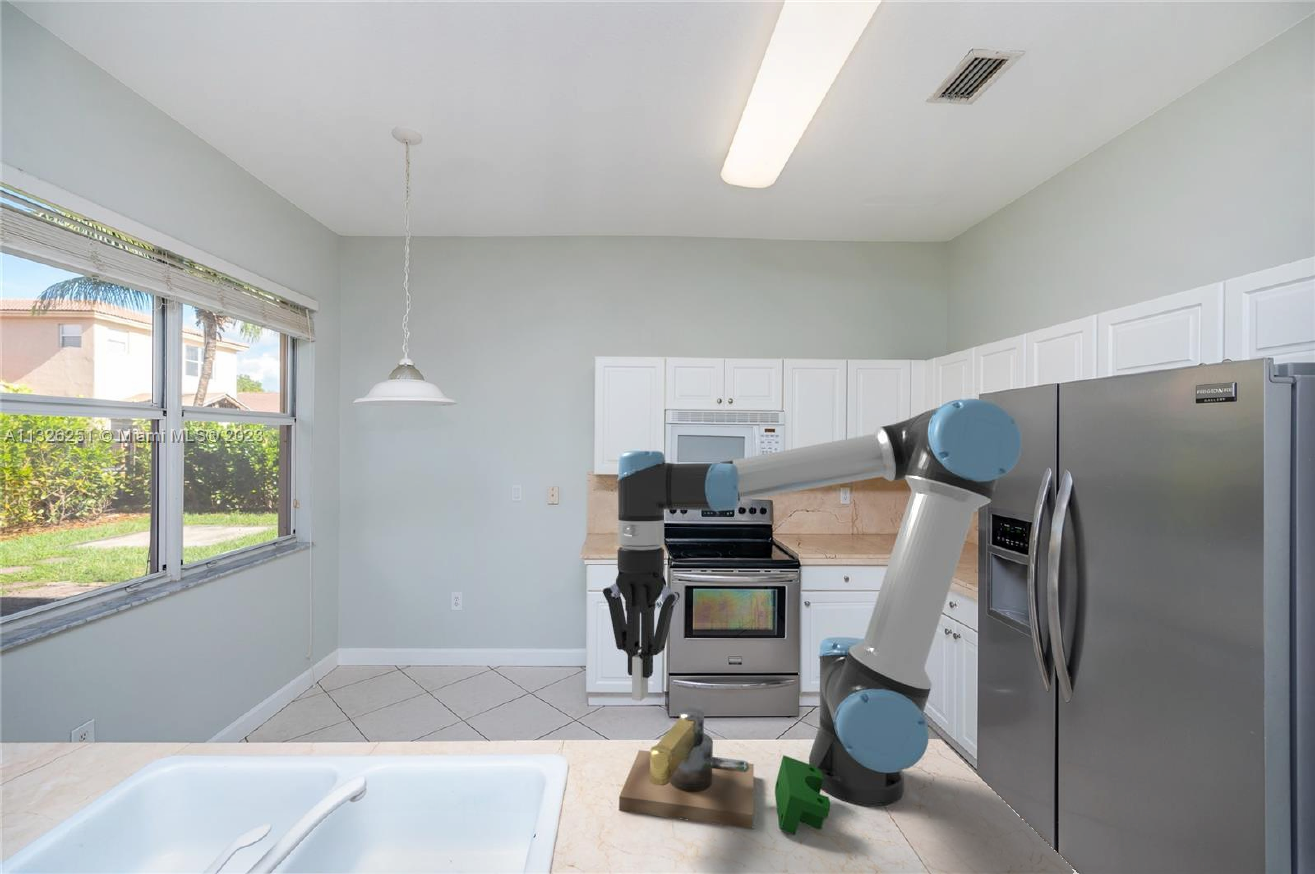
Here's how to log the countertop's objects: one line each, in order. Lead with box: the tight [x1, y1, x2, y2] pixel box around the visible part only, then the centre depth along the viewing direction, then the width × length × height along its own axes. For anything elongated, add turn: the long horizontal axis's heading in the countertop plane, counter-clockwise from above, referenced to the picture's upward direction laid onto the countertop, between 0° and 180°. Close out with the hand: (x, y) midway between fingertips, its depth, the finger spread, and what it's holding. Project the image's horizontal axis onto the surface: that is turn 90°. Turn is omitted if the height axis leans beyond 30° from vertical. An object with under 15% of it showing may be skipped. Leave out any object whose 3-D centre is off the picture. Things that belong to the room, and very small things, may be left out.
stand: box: [618, 749, 755, 830], centre depth 86 cm, size 20×14×2 cm
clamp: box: [774, 754, 832, 836], centre depth 81 cm, size 12×6×9 cm, turn 166°
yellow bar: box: [650, 707, 705, 786], centre depth 81 cm, size 16×4×4 cm, turn 157°
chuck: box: [670, 733, 750, 792], centre depth 86 cm, size 13×7×6 cm, turn 79°
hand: (640, 696), depth 85 cm, fingers closed
